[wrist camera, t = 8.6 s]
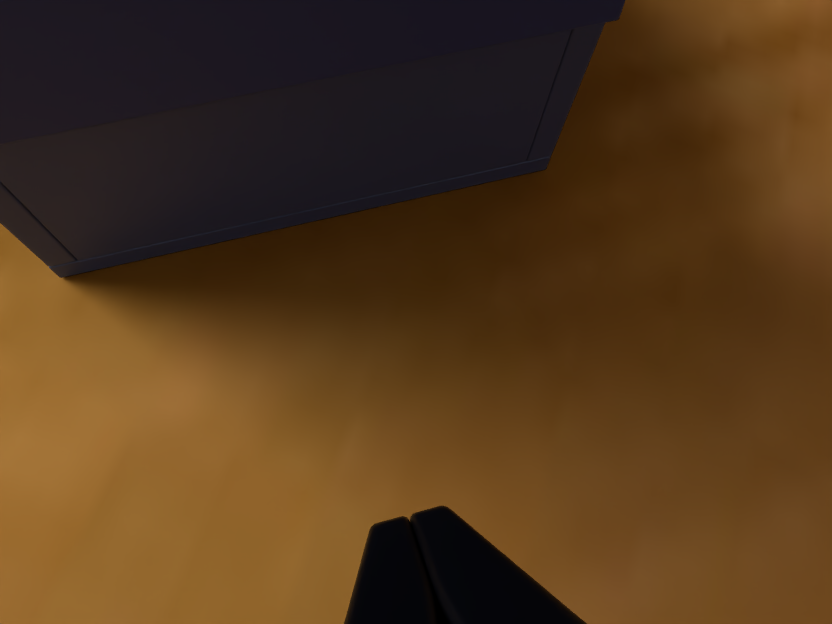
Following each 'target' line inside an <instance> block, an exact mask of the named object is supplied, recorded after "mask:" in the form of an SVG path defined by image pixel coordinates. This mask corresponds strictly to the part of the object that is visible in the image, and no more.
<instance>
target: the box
mask: <svg viewBox="0 0 832 624" xmlns="http://www.w3.org/2000/svg"><path fill="white" fill-rule="evenodd" d="M604 25H605V23H601V24H596V25H591V26H586V27H581V28H576V29H571V30H566V31H561V32H556V33H551V34H546V35H541V36H536V37H531V38H527V39H522V40H517V41H512V42H507V43H502V44H497V45H492V46H487V47H482V48H477V49H472V50H467V51H462V52H457V53H452V54H447V55H442V56H437V57H432V58H427V59H422V60H418V61H413V62H408V63H403V64H398V65H393V66H388V67H383V68H378V69H373V70H368V71H363V72H358V73H353V74H348V75H343V76H338V77H333V78H328V79H323V80H318V81H314V82H309V83H304V84H299V85H294V86H289V87H284V88H279V89H274V90H269V91H264V92H259V93H254V94H249V95H244V96H239V97H234V98H229V99H224V100H219V101H214V102H209V103H205V104H200V105H195V106H190V107H185V108H180V109H175V110H170V111H165V112H160V113H155V114H150V115H145V116H140V117H135V118H130V119H125V120H120V121H115V122H110V123H105V124H101V125H96V126H91V127H86V128H81V129H76V130H71V131H66V132H61V133H56V134H51V135H46V136H41V137H36V138H31V139H26V140H21V141H16V142H11V143H6V144H1V145H0V223H1V224H2V225H3V226H4V227H6V228H7V229H8V230H9V231H10V232H11V233H12V234H13V235H14V236H16V237H17V238H18V239H19V240H20V241H21V242H22V243H23V244H24V245H25V246H27V247H28V248H29V249H30V250H31V251H32V252H33V253H34V254H35V255H36V256H38V257H39V258H40V259H41V260H42V261H43V262H44V263H45V264H46V265H48V266H49V268H50V269H51V270H52V271H53V272H54V273H56V274H57V275H58V276H59V277H61V278H62V277H66V276H71V275H75V274H80V273H84V272H89V271H93V270H98V269H102V268H107V267H111V266H116V265H120V264H124V263H129V262H133V261H138V260H142V259H147V258H151V257H156V256H160V255H165V254H169V253H174V252H178V251H183V250H187V249H192V248H196V247H201V246H205V245H209V244H214V243H218V242H223V241H227V240H232V239H236V238H241V237H245V236H250V235H254V234H259V233H263V232H268V231H272V230H277V229H281V228H285V227H290V226H294V225H299V224H303V223H308V222H312V221H317V220H321V219H326V218H330V217H335V216H339V215H344V214H348V213H353V212H357V211H362V210H366V209H370V208H375V207H379V206H384V205H388V204H393V203H397V202H402V201H406V200H411V199H415V198H420V197H424V196H429V195H433V194H438V193H442V192H447V191H451V190H455V189H460V188H464V187H469V186H473V185H478V184H482V183H487V182H491V181H496V180H500V179H505V178H509V177H514V176H518V175H523V174H527V173H531V172H536V171H540V170H545V169H546V168H547V165H548V163H549V160H550V158H551V155H552V152H553V150H554V147H555V145H556V143H557V140H558V138H559V135H560V133H561V130H562V128H563V125H564V123H565V120H566V118H567V116H568V113H569V111H570V108H571V106H572V103H573V101H574V98H575V96H576V93H577V91H578V88H579V86H580V84H581V81H582V79H583V76H584V74H585V71H586V69H587V66H588V64H589V61H590V59H591V57H592V54H593V52H594V49H595V47H596V44H597V42H598V39H599V37H600V34H601V32H602V29H603V27H604Z"/></svg>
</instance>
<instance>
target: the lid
mask: <svg viewBox="0 0 832 624" xmlns="http://www.w3.org/2000/svg"><path fill="white" fill-rule="evenodd" d="M624 3H625V0H0V145H1V144H6V143H11V142H16V141H21V140H26V139H31V138H36V137H41V136H46V135H51V134H56V133H61V132H66V131H71V130H76V129H81V128H86V127H91V126H96V125H101V124H105V123H110V122H115V121H120V120H125V119H130V118H135V117H140V116H145V115H150V114H155V113H160V112H165V111H170V110H175V109H180V108H185V107H190V106H195V105H200V104H205V103H209V102H214V101H219V100H224V99H229V98H234V97H239V96H244V95H249V94H254V93H259V92H264V91H269V90H274V89H279V88H284V87H289V86H294V85H299V84H304V83H309V82H314V81H318V80H323V79H328V78H333V77H338V76H343V75H348V74H353V73H358V72H363V71H368V70H373V69H378V68H383V67H388V66H393V65H398V64H403V63H408V62H413V61H418V60H422V59H427V58H432V57H437V56H442V55H447V54H452V53H457V52H462V51H467V50H472V49H477V48H482V47H487V46H492V45H497V44H502V43H507V42H512V41H517V40H522V39H527V38H531V37H536V36H541V35H546V34H551V33H556V32H561V31H566V30H571V29H576V28H581V27H586V26H591V25H596V24H601V23H606V22H611V21H616V20H618V19H619V17H620V14H621V12H622V9H623V6H624Z"/></svg>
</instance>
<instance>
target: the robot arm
mask: <svg viewBox="0 0 832 624" xmlns="http://www.w3.org/2000/svg"><path fill="white" fill-rule="evenodd" d="M344 624H586V623H585V622H584V621H583V620H582V619H580V618H579V617H578V616H577V615H576V614H574V613H573V612H572V611H571V610H570V609H569V608H567V607H566V606H565V605H564V604H563V603H561V602H560V601H559V600H558V599H557V598H555V597H554V596H553V595H552V594H551V593H550V592H548V591H547V590H546V589H545V588H544V587H542V586H541V585H540V584H539V583H538V582H536V581H535V580H534V579H533V578H532V577H530V576H529V575H528V574H527V573H526V572H525V571H523V570H522V569H521V568H520V567H519V566H517V565H516V564H515V563H514V562H513V561H511V560H510V559H509V558H508V557H507V556H506V555H504V554H503V553H502V552H501V551H500V550H498V549H497V548H496V547H495V546H494V545H492V544H491V543H490V542H489V541H488V540H486V539H485V538H484V537H483V536H482V535H481V534H479V533H478V532H477V531H476V530H475V529H473V528H472V527H471V526H470V525H469V524H467V523H466V522H465V521H464V520H463V519H461V518H460V517H459V516H458V515H457V514H456V513H454V512H453V511H452V510H451V509H449V508H448V507H446V506H438V507H434V508H431V509H427V510H423V511H420V512H416V513H414V514H412V516H411V518H410V521H409V519H408V518H407V517H404V516H402V517H398V518H394V519H390V520H387V521H383V522H379V523H376V524H374V525H373V526H372V527H371V528H370V531H369V534H368V538H367V541H366V545H365V549H364V552H363V556H362V560H361V563H360V567H359V571H358V574H357V578H356V582H355V585H354V589H353V593H352V597H351V600H350V604H349V608H348V611H347V615H346V619H345V622H344Z"/></svg>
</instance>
